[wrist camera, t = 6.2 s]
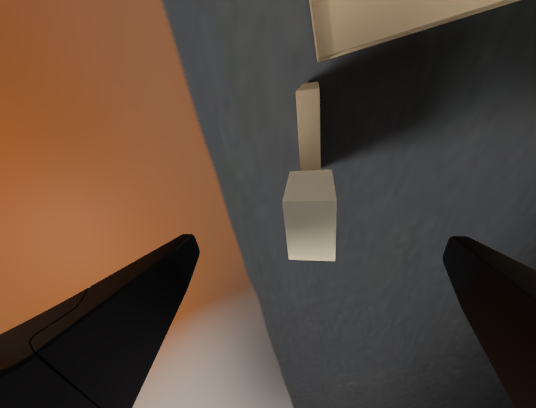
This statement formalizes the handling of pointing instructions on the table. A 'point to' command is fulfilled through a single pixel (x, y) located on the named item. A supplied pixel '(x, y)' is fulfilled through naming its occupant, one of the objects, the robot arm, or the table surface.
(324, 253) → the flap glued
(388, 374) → the table surface
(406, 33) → the carton
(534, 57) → the table surface
